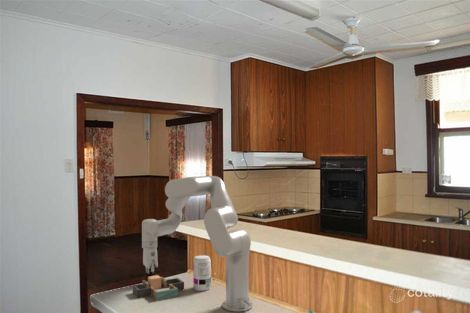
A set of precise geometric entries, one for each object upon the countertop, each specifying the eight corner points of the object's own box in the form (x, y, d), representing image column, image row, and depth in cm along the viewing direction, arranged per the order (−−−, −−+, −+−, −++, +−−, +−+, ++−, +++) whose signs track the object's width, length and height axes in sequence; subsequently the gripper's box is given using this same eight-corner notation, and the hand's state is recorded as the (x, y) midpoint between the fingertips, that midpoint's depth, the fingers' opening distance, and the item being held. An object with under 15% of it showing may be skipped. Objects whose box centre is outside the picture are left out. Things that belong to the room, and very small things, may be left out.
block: (161, 288, 179) (161, 277, 179) (150, 290, 177) (150, 279, 177) (157, 285, 184) (157, 275, 184) (147, 287, 181) (147, 276, 181)
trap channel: (190, 294, 170) (190, 286, 170) (142, 303, 159) (142, 295, 159) (173, 282, 188) (173, 275, 188) (129, 289, 177) (129, 282, 177)
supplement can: (190, 290, 176) (190, 258, 176) (198, 285, 183) (198, 254, 184) (206, 292, 173) (206, 259, 173) (213, 286, 181) (213, 255, 181)
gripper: (161, 246, 182) (162, 284, 182) (152, 240, 195) (152, 276, 195) (146, 247, 179) (146, 286, 178) (138, 242, 192) (138, 278, 191)
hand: (149, 281), depth 187 cm, fingers closed
